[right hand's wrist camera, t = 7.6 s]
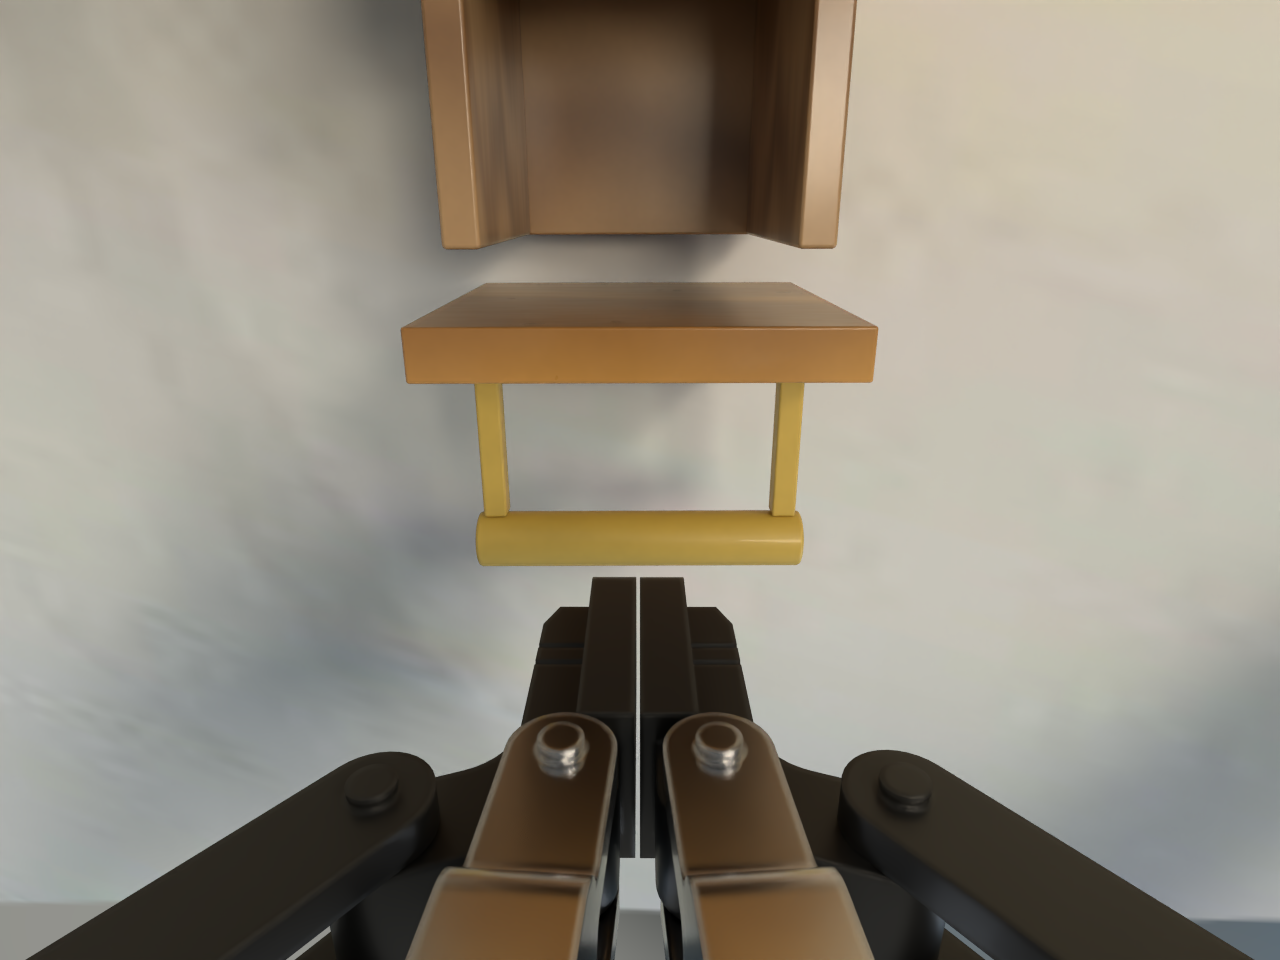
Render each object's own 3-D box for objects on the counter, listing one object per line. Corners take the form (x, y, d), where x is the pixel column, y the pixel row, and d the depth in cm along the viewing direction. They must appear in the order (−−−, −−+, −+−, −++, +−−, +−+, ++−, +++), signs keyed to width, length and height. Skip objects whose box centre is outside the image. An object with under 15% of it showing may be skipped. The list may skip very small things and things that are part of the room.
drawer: (779, 477, 27) (849, 611, 18) (498, 478, 27) (430, 612, 18) (832, -341, 19) (998, -803, 10) (441, -341, 19) (275, -803, 10)
